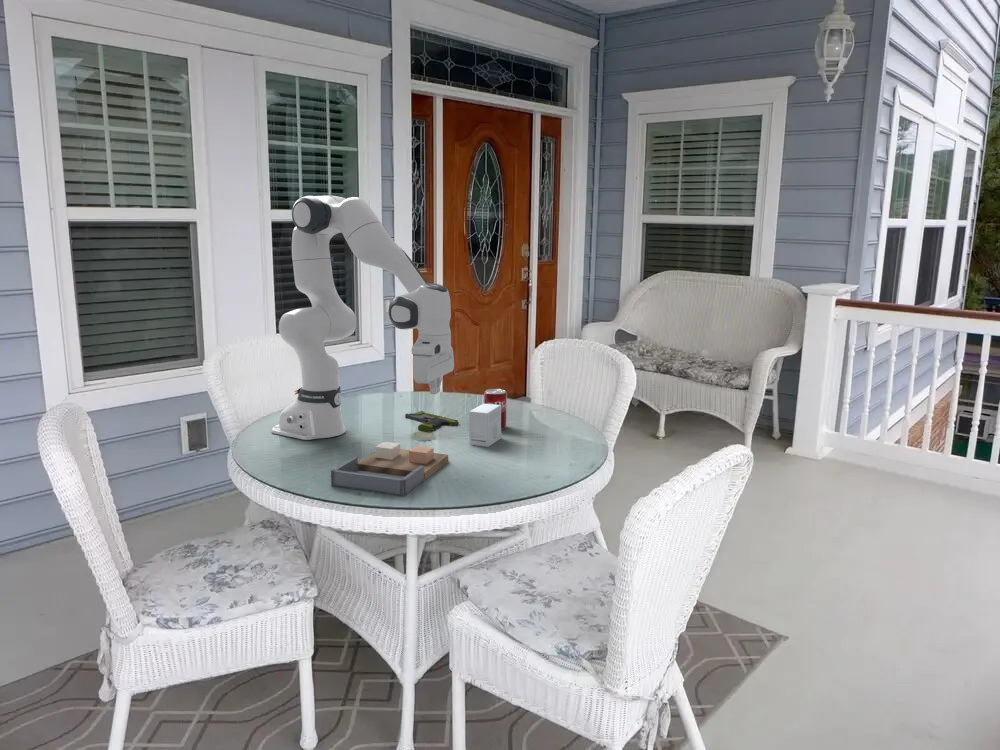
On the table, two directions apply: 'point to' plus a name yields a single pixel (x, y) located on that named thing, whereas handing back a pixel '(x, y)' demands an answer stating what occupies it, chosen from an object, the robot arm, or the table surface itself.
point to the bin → (375, 479)
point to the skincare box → (485, 425)
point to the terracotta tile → (421, 454)
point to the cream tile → (387, 450)
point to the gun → (430, 420)
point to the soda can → (497, 402)
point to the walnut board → (401, 464)
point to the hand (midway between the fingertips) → (435, 393)
